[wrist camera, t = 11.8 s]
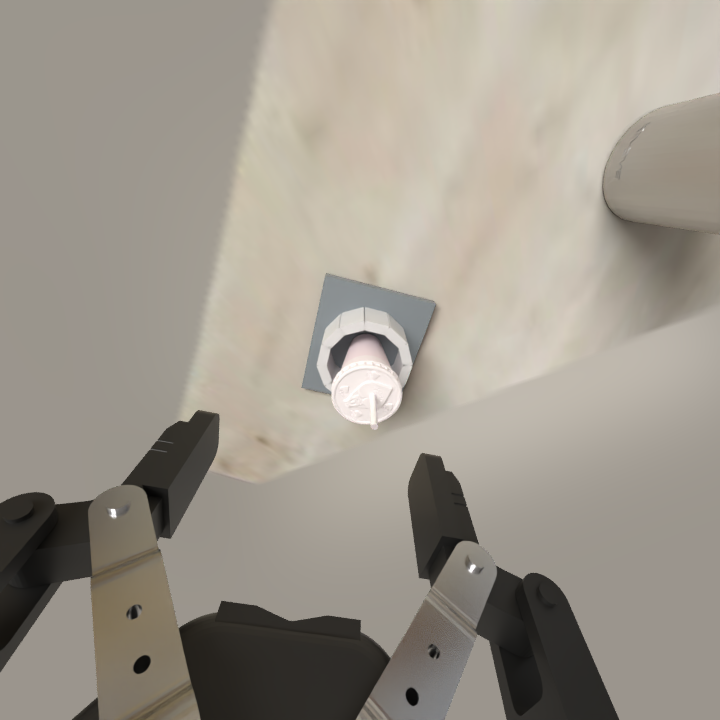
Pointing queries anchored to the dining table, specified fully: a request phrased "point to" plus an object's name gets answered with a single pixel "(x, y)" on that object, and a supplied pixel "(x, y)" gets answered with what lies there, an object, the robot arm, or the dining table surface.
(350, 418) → the smoothie
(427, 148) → the dining table surface
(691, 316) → the dining table surface
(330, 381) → the holder
